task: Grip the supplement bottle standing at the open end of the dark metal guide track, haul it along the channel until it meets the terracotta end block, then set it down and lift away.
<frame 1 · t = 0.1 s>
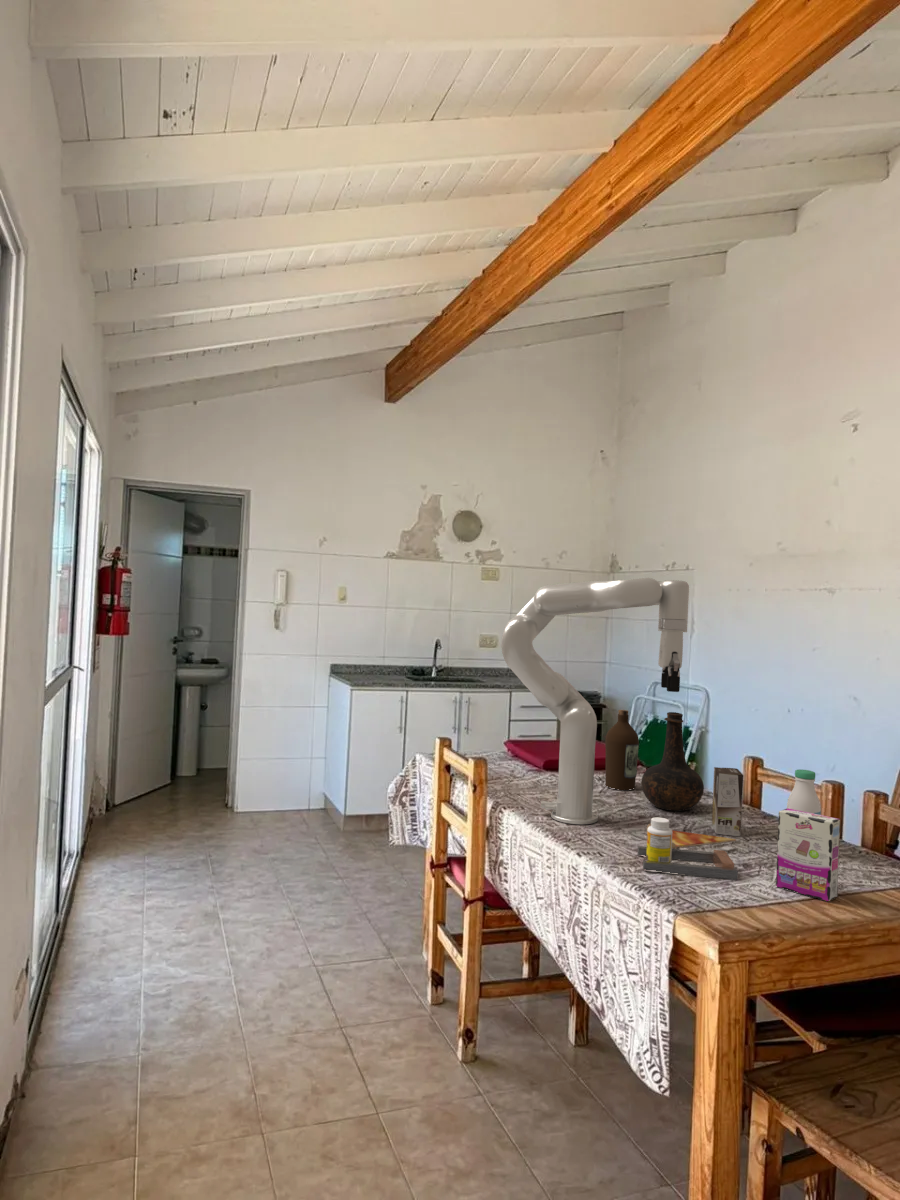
hand: (670, 689, 209), 37 cm above the table, tool pointing down, fingers open, 9 cm apart
dark brown vase: (671, 808, 229), on the table
pizza slice: (688, 845, 195), on the table
coffee box: (725, 831, 207), on the table
olive oil: (620, 788, 252), on the table
candy bar box: (806, 893, 164), on the table
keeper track: (685, 866, 177), on the table
supplement bottle: (658, 865, 177), on the table
milk bottle: (801, 852, 191), on the table
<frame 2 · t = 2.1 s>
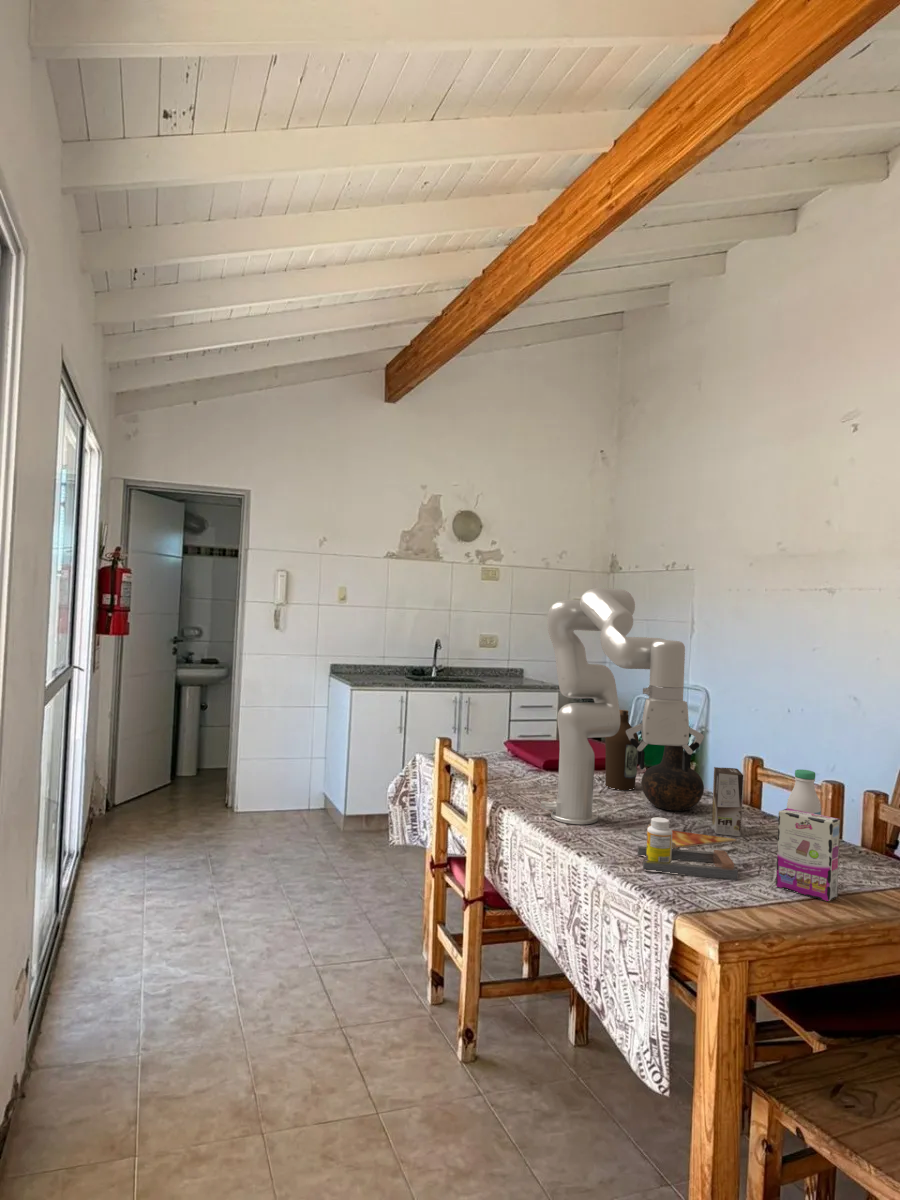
hand: (663, 769, 177), 22 cm above the table, tool pointing down, fingers open, 9 cm apart
nothing on the table moved.
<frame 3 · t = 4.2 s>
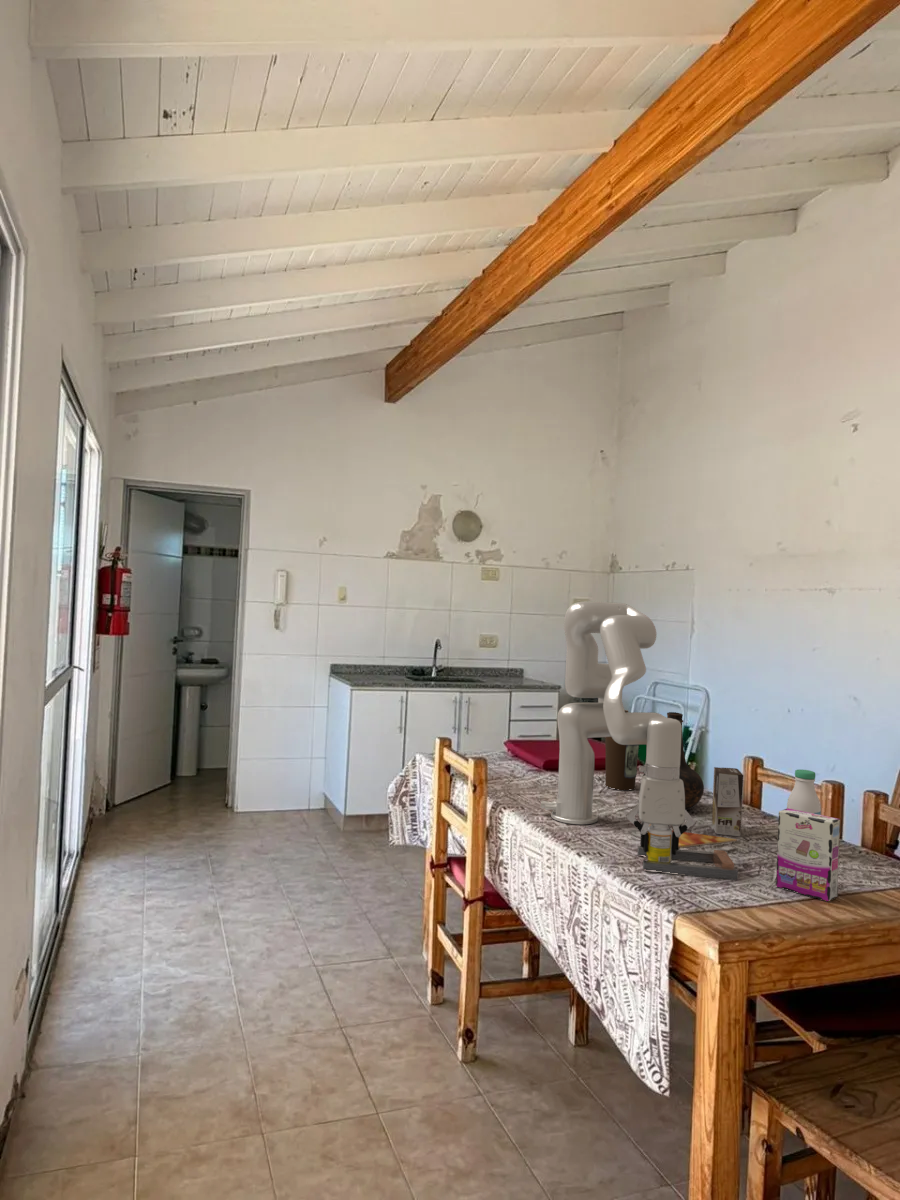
hand: (659, 850, 177), 3 cm above the table, tool pointing down, fingers closed on supplement bottle, 5 cm apart
supplement bottle: (658, 865, 177), on the table, touching gripper
everything else where it was.
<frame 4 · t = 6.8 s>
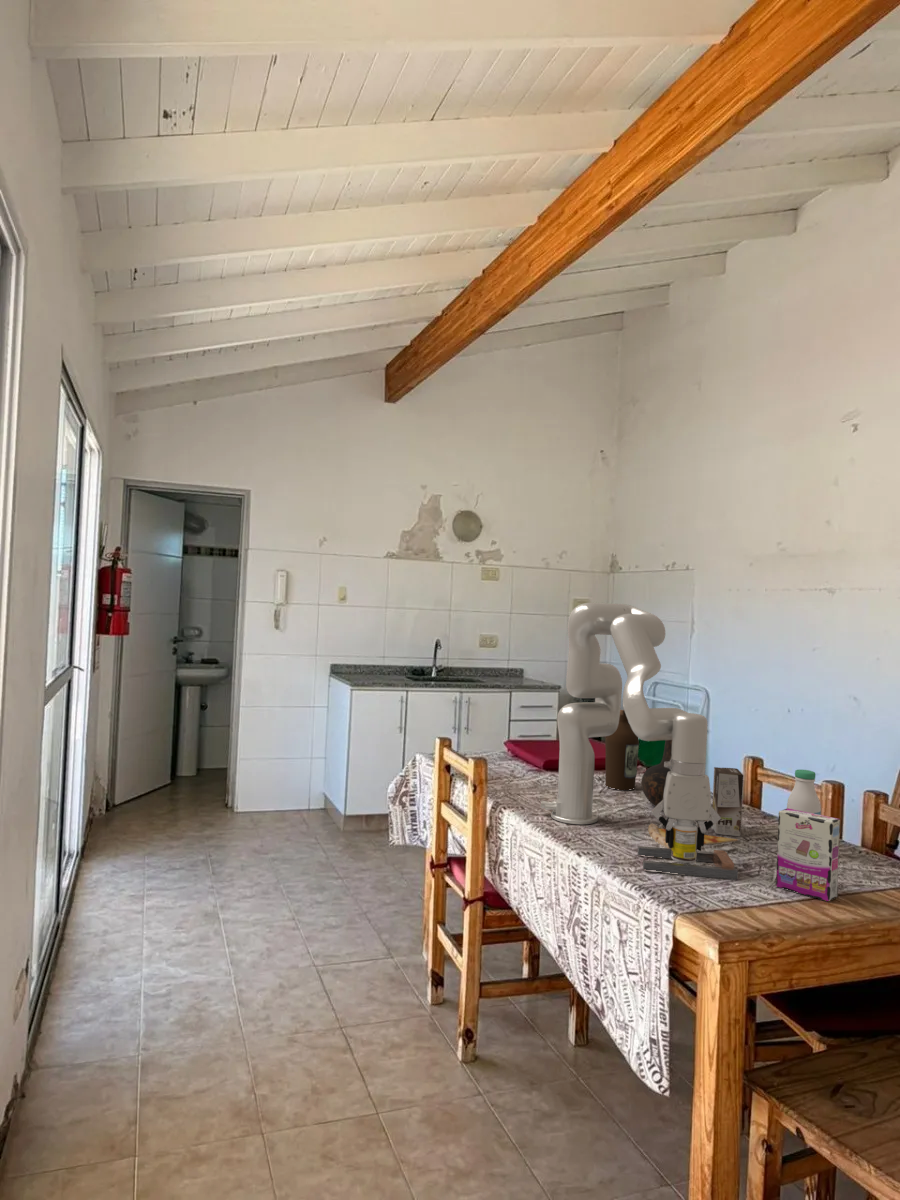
hand: (684, 846, 177), 4 cm above the table, tool pointing down, fingers closed on supplement bottle, 5 cm apart
supplement bottle: (683, 861, 177), point 1 cm above the table, touching gripper
everything else where it was.
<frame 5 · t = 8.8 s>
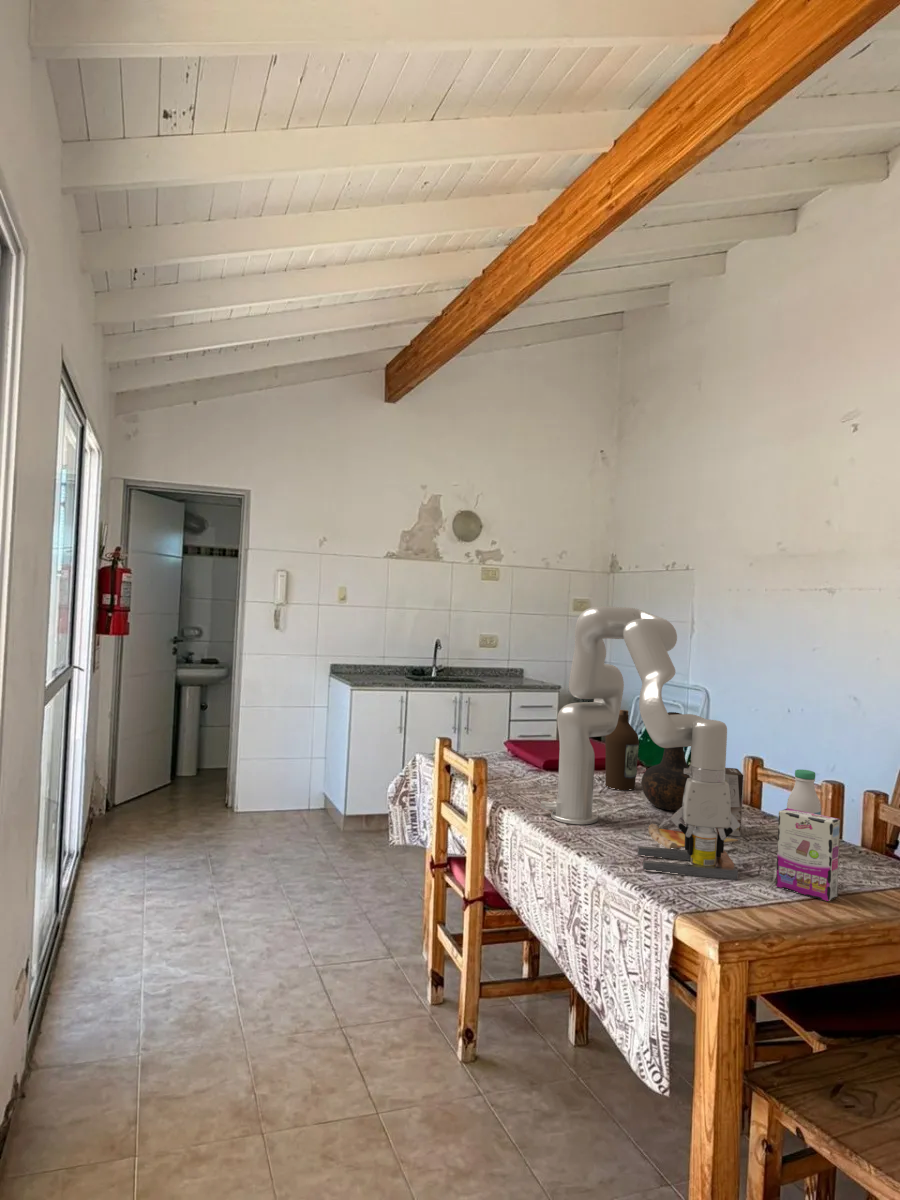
hand: (703, 853, 176), 3 cm above the table, tool pointing down, fingers closed on supplement bottle, 5 cm apart
supplement bottle: (702, 868, 176), on the table, touching gripper
everything else where it was.
when the fingers open (3 cm above the table, at t = 8.9 s): supplement bottle stays where it is, on the table.
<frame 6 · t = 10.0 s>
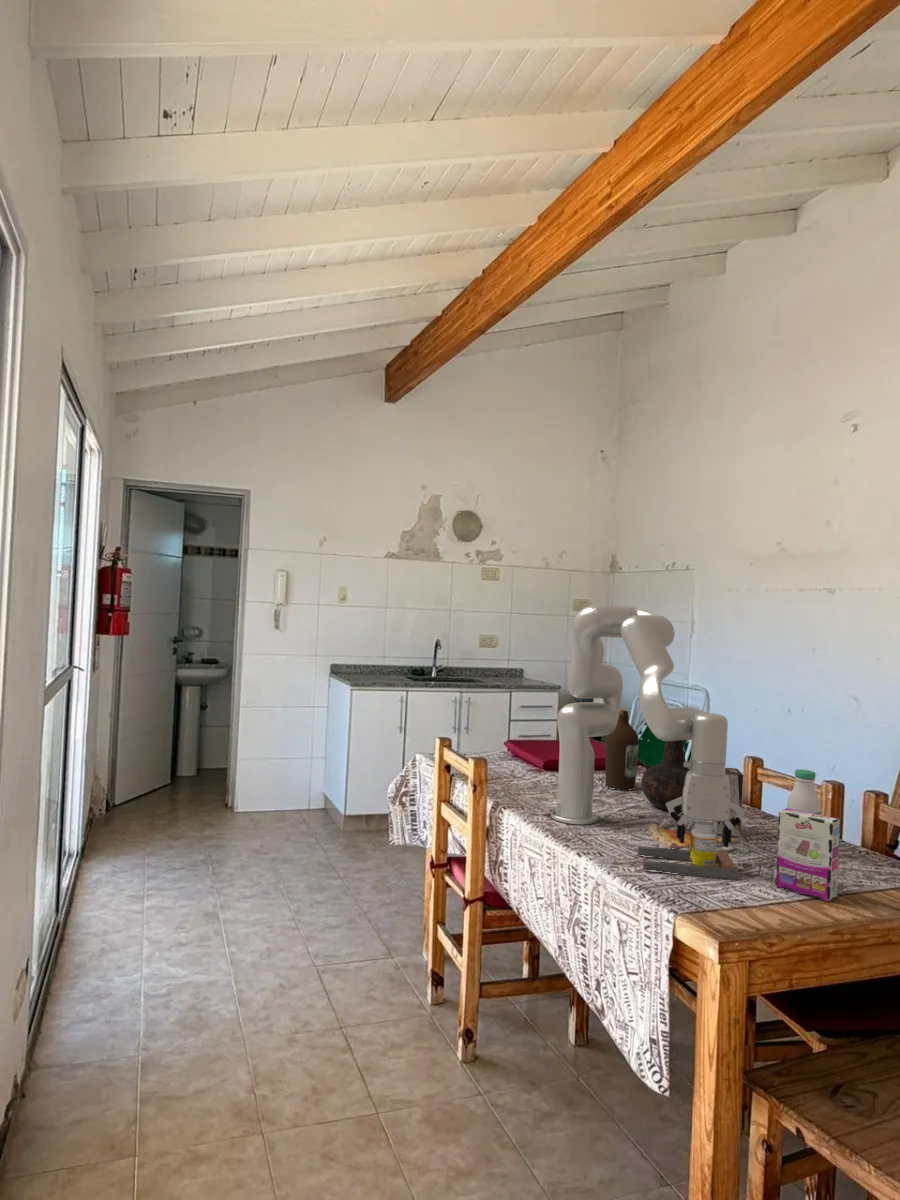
hand: (703, 843, 176), 5 cm above the table, tool pointing down, fingers open, 9 cm apart
supplement bottle: (702, 868, 176), on the table
everything else where it was.
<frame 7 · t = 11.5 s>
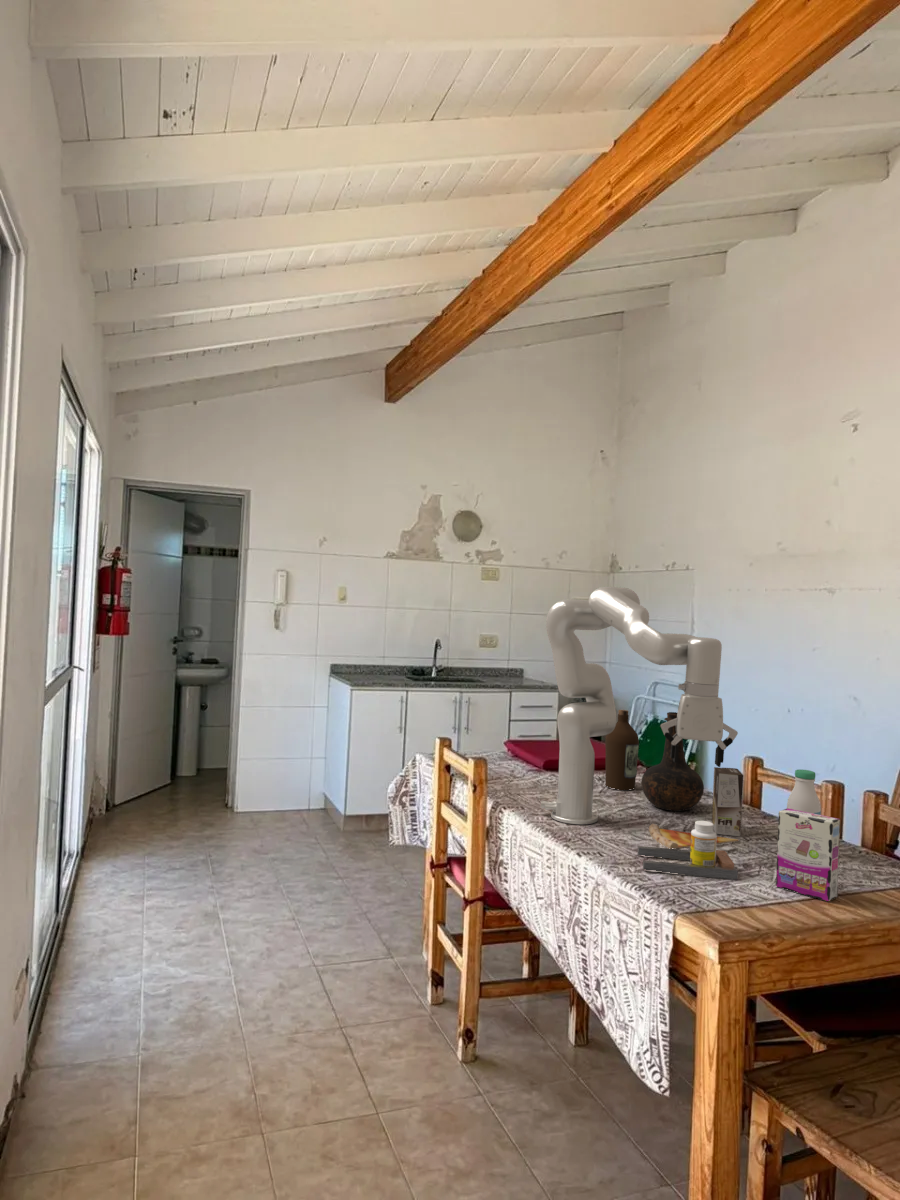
hand: (696, 763, 181), 23 cm above the table, tool pointing down, fingers open, 9 cm apart
nothing on the table moved.
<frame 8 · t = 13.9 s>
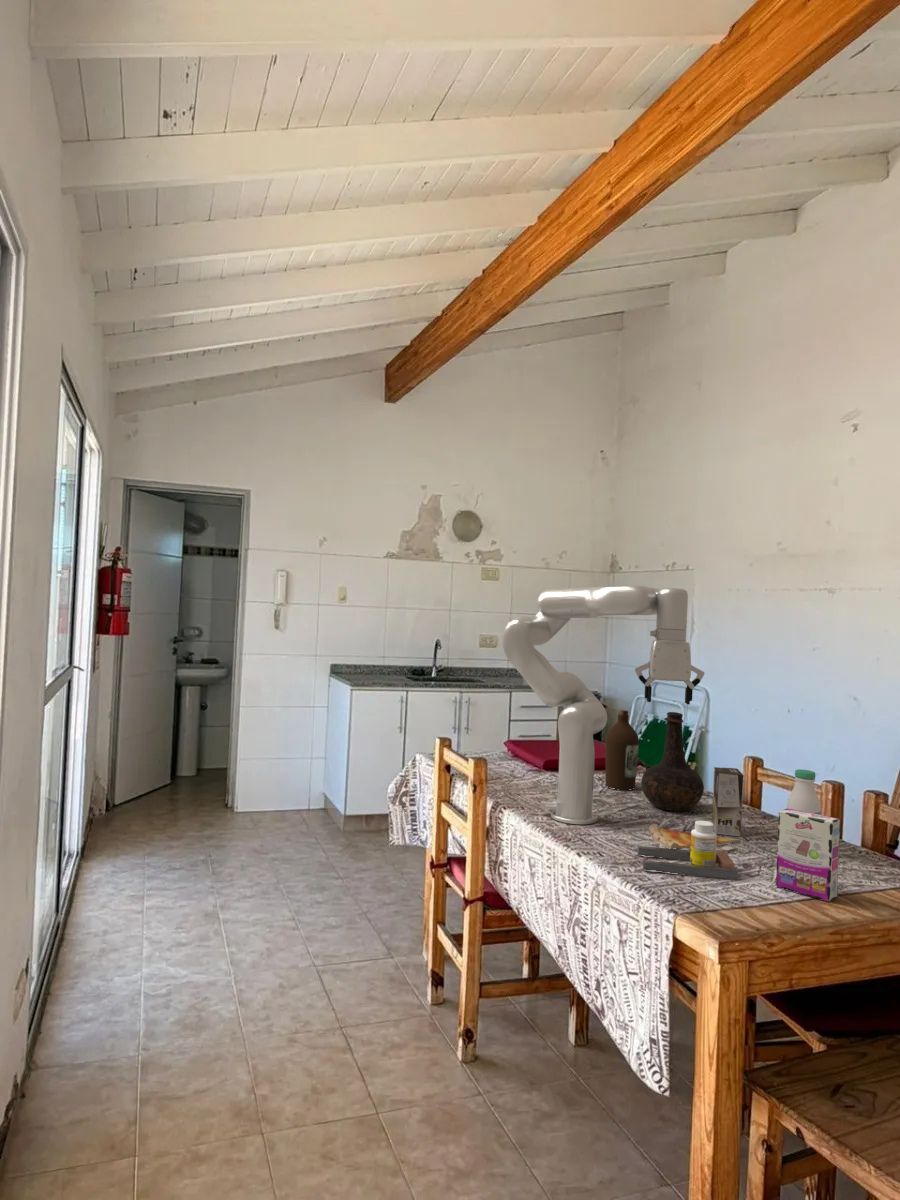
hand: (667, 702, 200), 34 cm above the table, tool pointing down, fingers open, 9 cm apart
nothing on the table moved.
at the end: supplement bottle 0.2 cm from the target spot, on the table; supplement bottle tilted 0°; the gripper is holding nothing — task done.
